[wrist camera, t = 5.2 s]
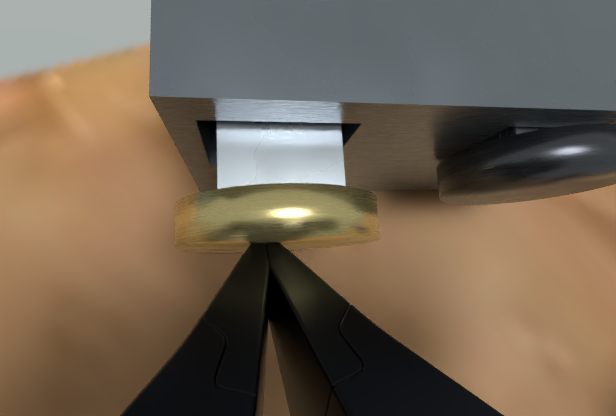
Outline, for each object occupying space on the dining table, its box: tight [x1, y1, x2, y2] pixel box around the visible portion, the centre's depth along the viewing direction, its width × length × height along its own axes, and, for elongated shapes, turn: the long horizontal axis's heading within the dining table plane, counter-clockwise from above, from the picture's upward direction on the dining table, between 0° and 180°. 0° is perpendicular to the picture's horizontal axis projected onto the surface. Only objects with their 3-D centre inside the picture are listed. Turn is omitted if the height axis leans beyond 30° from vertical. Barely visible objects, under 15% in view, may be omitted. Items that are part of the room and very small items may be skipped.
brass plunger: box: [174, 121, 380, 253], centre depth 11 cm, size 5×6×6 cm
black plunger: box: [436, 124, 616, 205], centre depth 13 cm, size 5×6×6 cm
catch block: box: [149, 0, 616, 192], centre depth 14 cm, size 5×15×10 cm, turn 92°
